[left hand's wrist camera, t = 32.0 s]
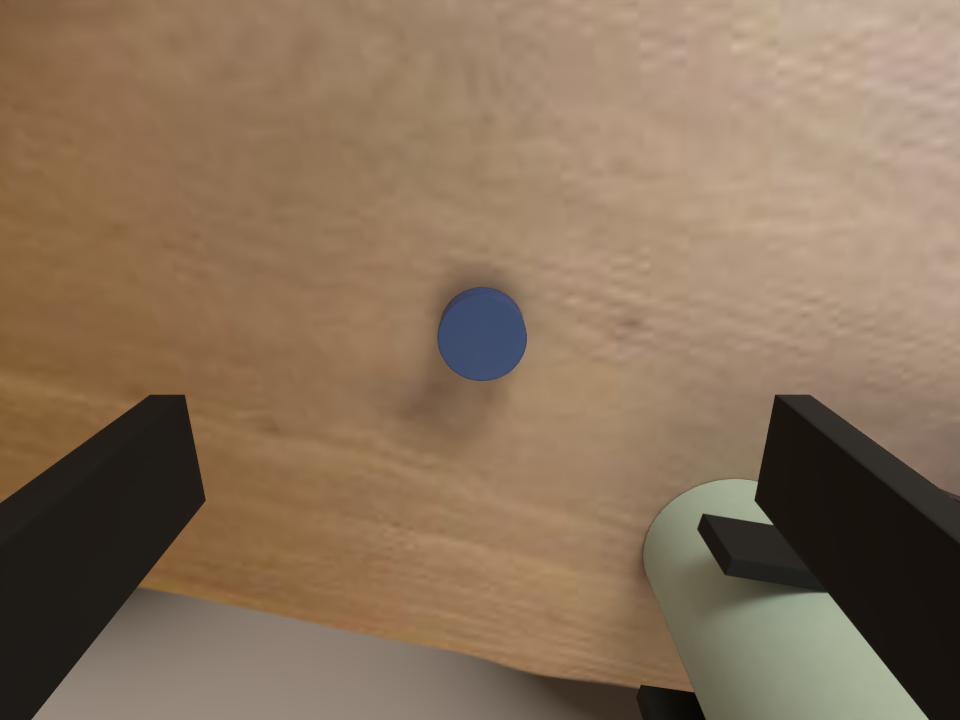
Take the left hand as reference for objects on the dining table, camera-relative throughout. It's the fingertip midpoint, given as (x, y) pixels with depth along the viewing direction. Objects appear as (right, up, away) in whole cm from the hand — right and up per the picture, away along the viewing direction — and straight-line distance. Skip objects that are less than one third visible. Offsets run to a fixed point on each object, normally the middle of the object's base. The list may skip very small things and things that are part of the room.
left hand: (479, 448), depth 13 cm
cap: (0, +3, +11) cm, 11 cm away
